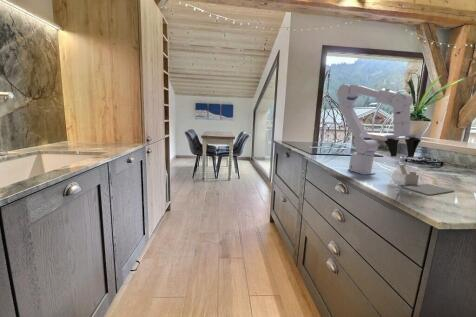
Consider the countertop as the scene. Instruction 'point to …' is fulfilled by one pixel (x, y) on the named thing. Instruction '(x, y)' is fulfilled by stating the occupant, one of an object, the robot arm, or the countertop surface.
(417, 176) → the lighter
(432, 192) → the mat
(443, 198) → the countertop surface
